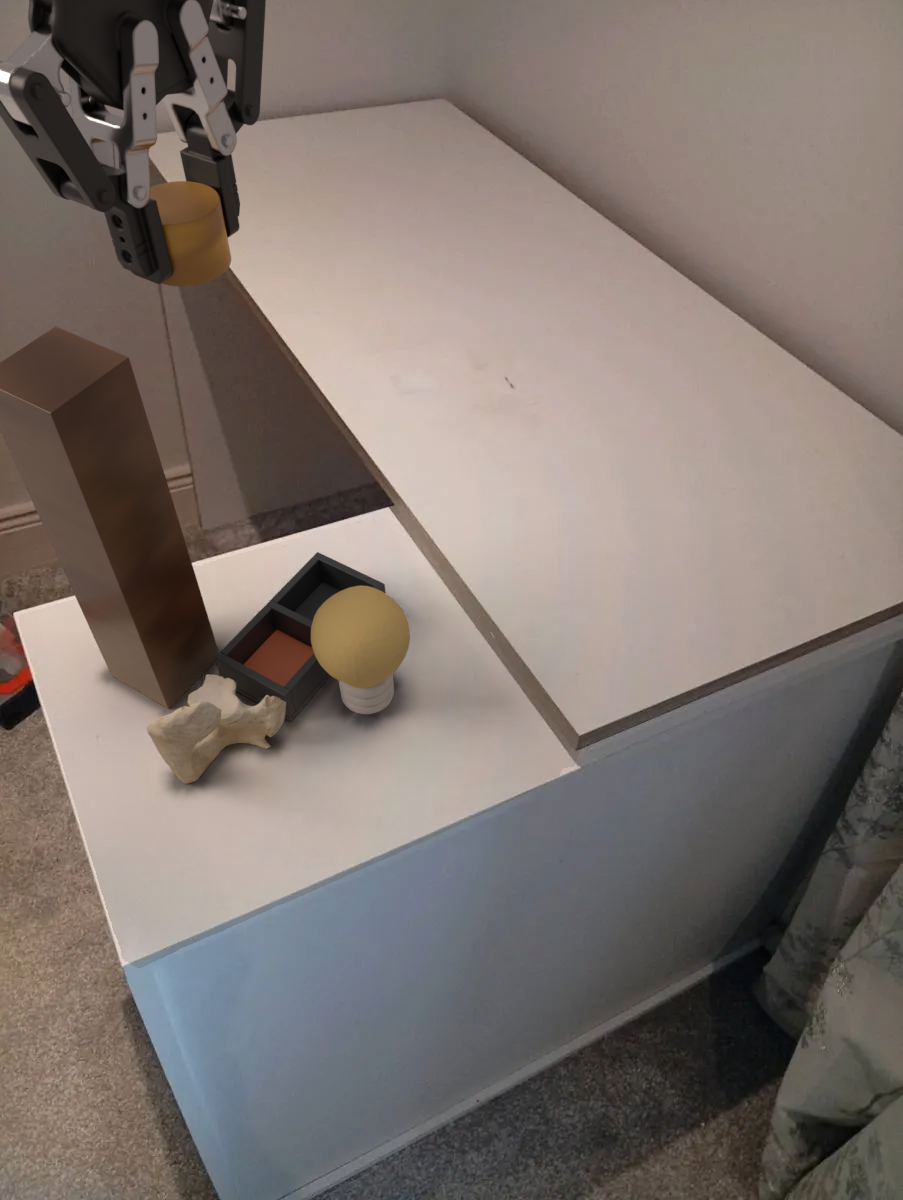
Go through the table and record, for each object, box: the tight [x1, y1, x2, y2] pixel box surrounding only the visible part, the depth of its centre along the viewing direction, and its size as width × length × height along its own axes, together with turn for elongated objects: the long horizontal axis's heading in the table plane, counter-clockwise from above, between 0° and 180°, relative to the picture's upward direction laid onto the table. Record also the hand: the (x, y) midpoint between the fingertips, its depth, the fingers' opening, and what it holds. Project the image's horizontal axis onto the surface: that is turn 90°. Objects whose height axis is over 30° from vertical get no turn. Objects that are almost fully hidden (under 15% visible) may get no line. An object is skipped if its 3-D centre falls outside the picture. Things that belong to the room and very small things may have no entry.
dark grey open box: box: [215, 551, 386, 722], centre depth 71 cm, size 12×6×3 cm, turn 148°
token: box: [150, 180, 232, 287], centre depth 45 cm, size 4×4×3 cm
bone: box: [146, 673, 286, 784], centre depth 63 cm, size 9×6×10 cm
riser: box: [0, 326, 220, 710], centre depth 61 cm, size 6×6×26 cm
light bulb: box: [311, 586, 411, 715], centre depth 65 cm, size 6×6×10 cm
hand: (185, 251), depth 45 cm, fingers closed on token, 4 cm apart
